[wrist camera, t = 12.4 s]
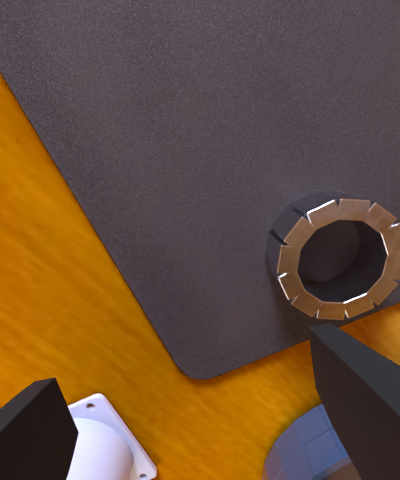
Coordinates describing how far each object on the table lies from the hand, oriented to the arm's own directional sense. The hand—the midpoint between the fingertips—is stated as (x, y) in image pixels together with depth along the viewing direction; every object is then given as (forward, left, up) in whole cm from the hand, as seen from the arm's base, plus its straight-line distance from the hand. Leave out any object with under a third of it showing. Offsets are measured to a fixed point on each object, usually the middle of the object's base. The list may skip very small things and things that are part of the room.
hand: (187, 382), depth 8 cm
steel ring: (+7, -2, -9) cm, 12 cm away
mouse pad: (+7, +5, -9) cm, 12 cm away
